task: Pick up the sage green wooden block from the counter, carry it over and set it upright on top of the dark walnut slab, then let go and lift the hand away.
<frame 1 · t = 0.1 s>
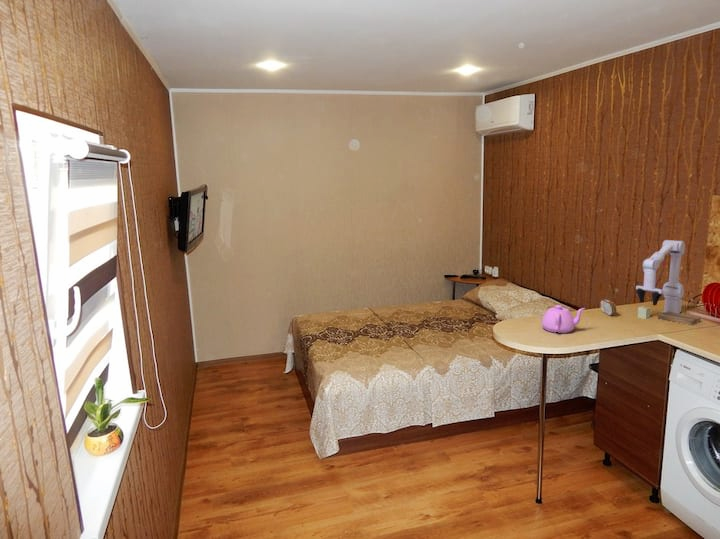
hand: (648, 303, 268), 10 cm above the worktop, tool pointing down, fingers open, 7 cm apart
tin: (607, 314, 287), on the worktop
teapot: (562, 330, 259), on the worktop
walnut slab: (678, 321, 269), on the worktop
sage block: (643, 317, 277), on the worktop
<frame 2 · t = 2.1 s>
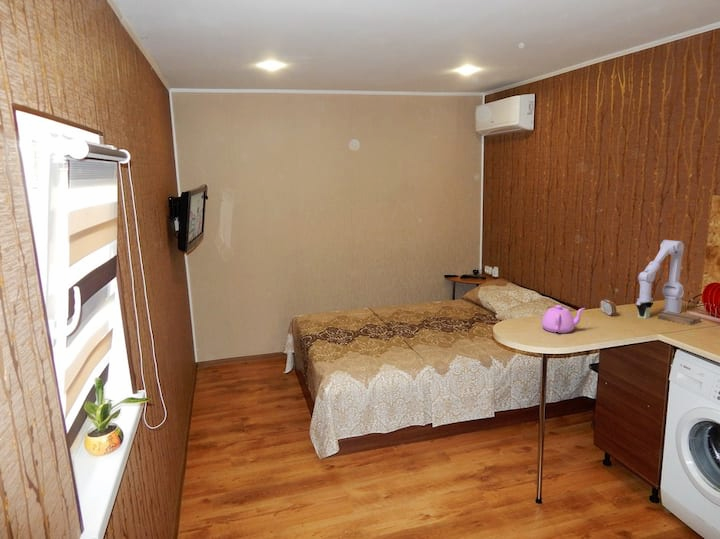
hand: (643, 315, 276), 1 cm above the worktop, tool pointing down, fingers closed on sage block, 4 cm apart
sage block: (643, 317, 277), on the worktop, touching gripper
everything else where it was.
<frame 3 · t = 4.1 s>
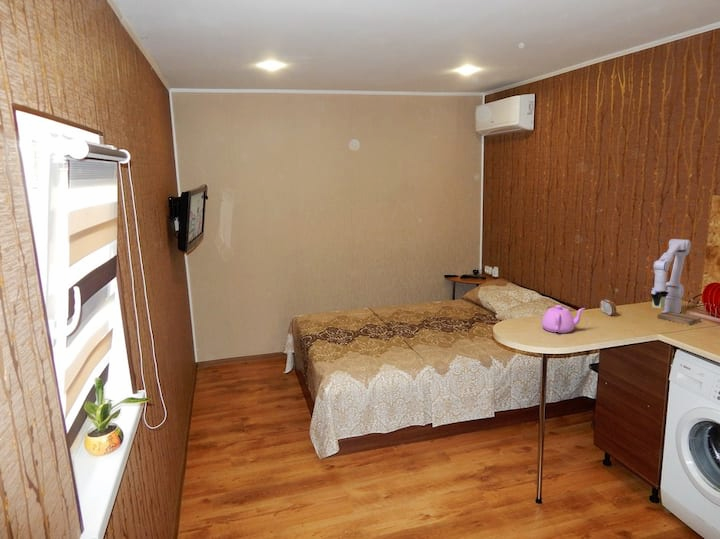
hand: (658, 304, 272), 8 cm above the worktop, tool pointing down, fingers closed on sage block, 4 cm apart
sage block: (658, 307, 272), point 7 cm above the worktop, touching gripper
everything else where it was.
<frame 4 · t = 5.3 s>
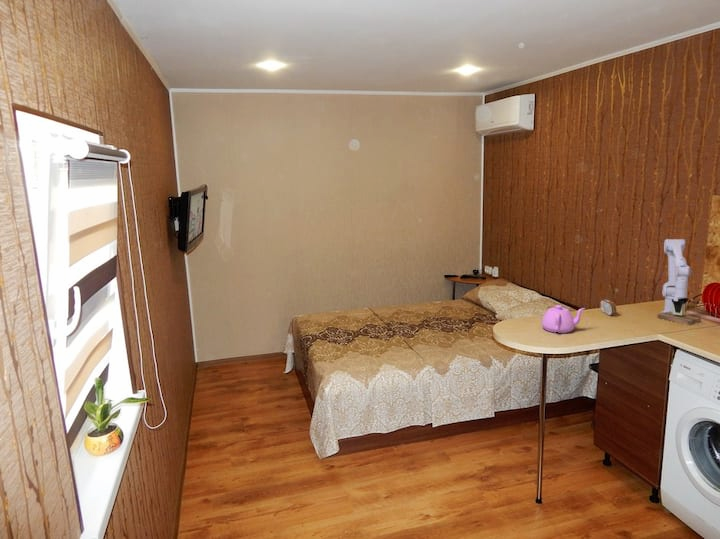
hand: (679, 311, 268), 5 cm above the worktop, tool pointing down, fingers closed on sage block, 4 cm apart
sage block: (678, 313, 268), point 4 cm above the worktop, touching gripper
everything else where it was.
when the fingers open (5 cm above the worktop, at t = 6.2 s): sage block drops 1 cm, point 2 cm above the worktop.
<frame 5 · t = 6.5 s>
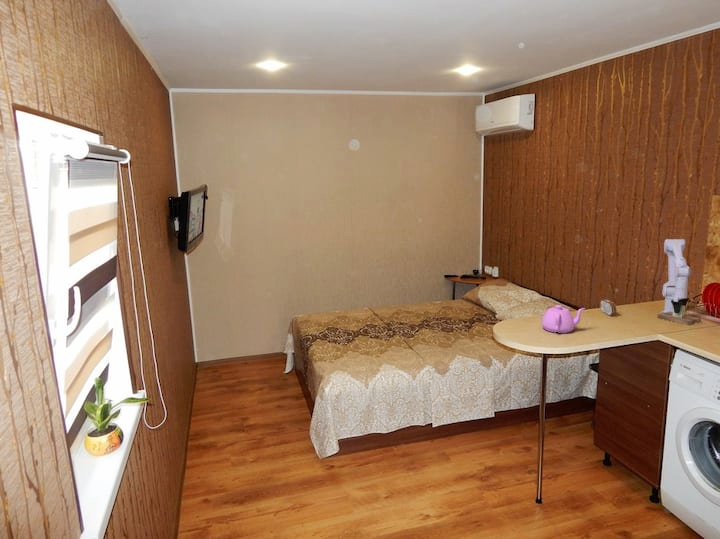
hand: (679, 311, 268), 5 cm above the worktop, tool pointing down, fingers open, 7 cm apart
sage block: (678, 316, 268), point 2 cm above the worktop
everything else where it was.
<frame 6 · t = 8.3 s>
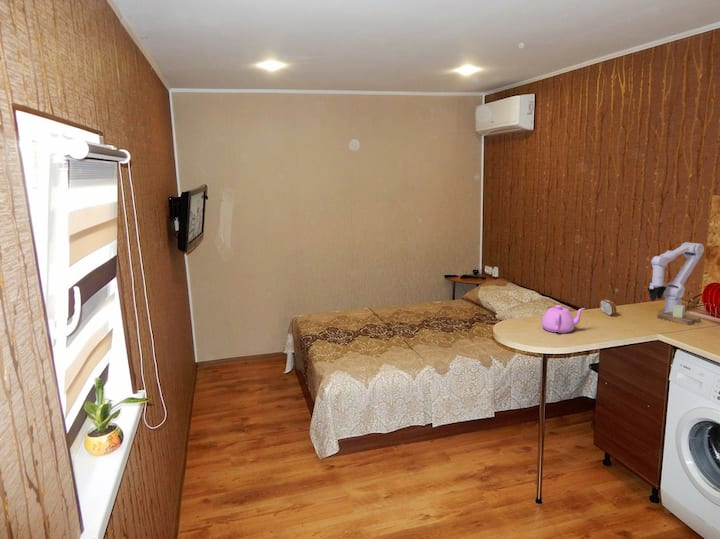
hand: (656, 299, 279), 9 cm above the worktop, tool pointing down, fingers open, 7 cm apart
nothing on the worktop moved.
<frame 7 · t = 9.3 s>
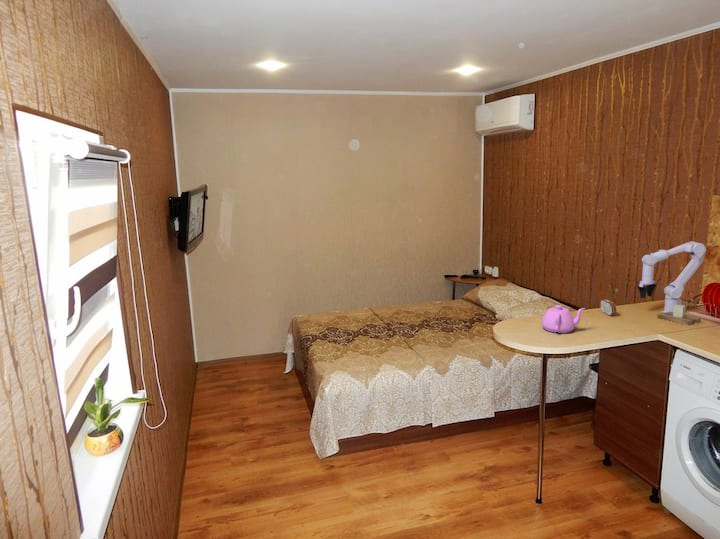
hand: (646, 296, 286), 9 cm above the worktop, tool pointing down, fingers open, 7 cm apart
nothing on the worktop moved.
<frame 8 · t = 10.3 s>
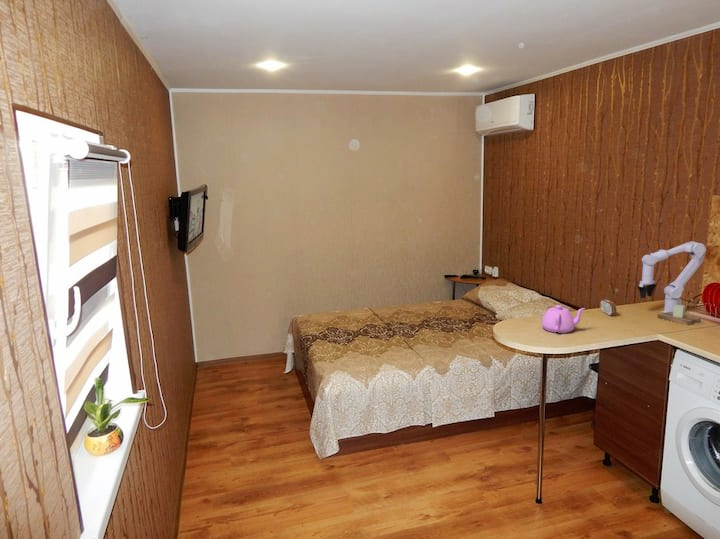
hand: (646, 296, 286), 9 cm above the worktop, tool pointing down, fingers open, 7 cm apart
walnut slab: (678, 321, 269), on the worktop, touching sage block
sage block: (678, 316, 268), point 2 cm above the worktop, touching walnut slab
everything else where it was.
at the end: sage block inside the target area on the walnut slab (0.2 cm from its centre), point 3.0 cm above the walnut slab's base; sage block tilted 0°; the gripper is holding nothing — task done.
